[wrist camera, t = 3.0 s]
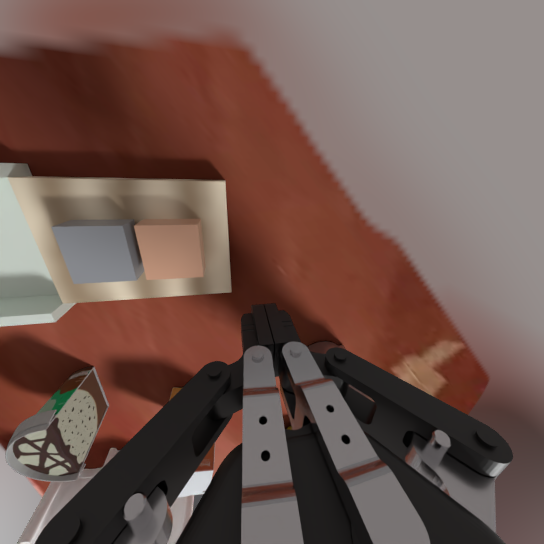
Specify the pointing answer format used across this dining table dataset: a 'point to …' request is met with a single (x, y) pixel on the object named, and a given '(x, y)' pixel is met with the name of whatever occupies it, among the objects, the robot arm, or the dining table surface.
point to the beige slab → (135, 205)
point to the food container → (60, 431)
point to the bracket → (65, 491)
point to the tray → (23, 263)
